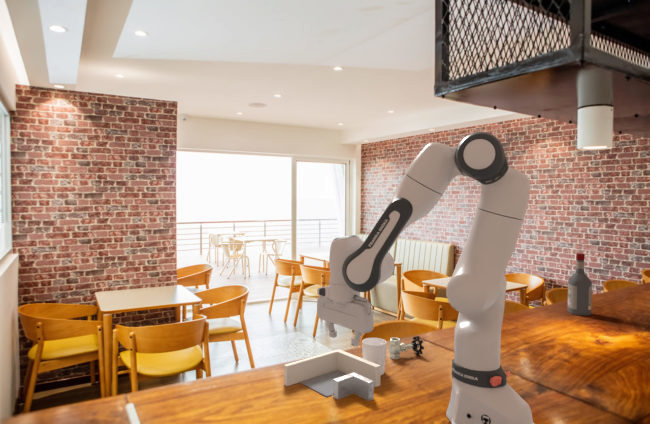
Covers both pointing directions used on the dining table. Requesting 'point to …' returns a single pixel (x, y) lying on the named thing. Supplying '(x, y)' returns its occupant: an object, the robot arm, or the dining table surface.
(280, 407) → the dining table surface
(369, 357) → the white cup
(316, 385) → the mat
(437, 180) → the robot arm
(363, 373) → the corner walls
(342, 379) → the bracket
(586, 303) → the liquor
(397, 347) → the valve
